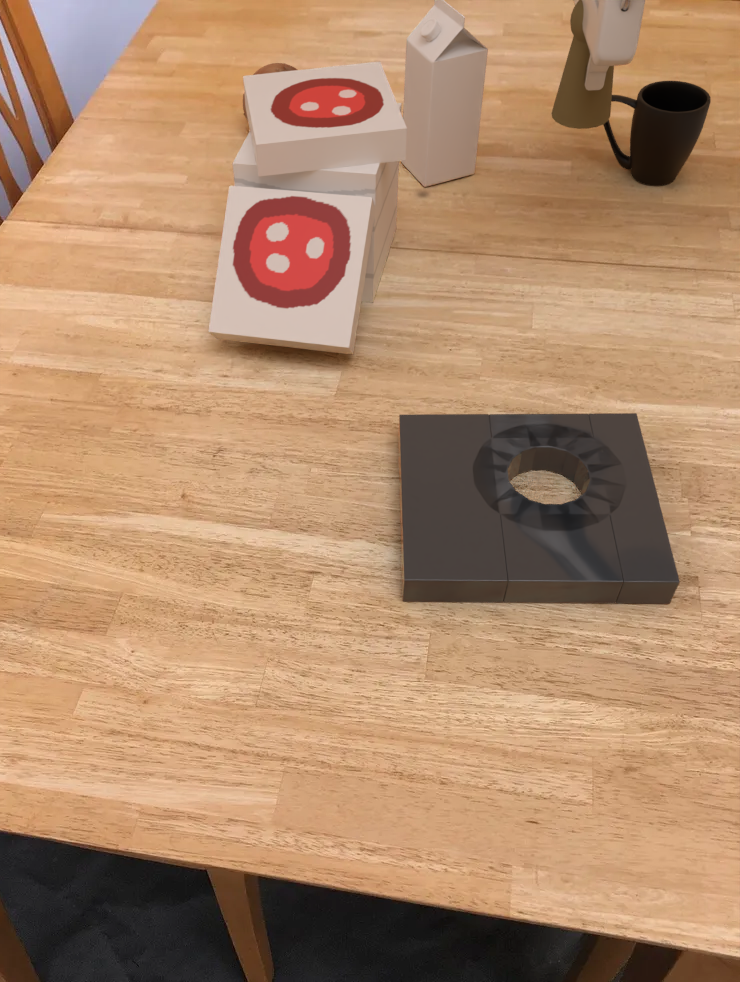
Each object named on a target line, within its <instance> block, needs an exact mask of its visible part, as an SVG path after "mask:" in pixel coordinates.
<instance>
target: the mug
mask: <svg viewBox="0 0 740 982" xmlns="http://www.w3.org/2000/svg"><path fill="white" fill-rule="evenodd" d="M711 101H712V99H711V95H710V93H709V92H708V91H707V90H706V89H704V88H703V87H701V86H699V85H696V84H694V83H690V82H687V81H680V80H659V81H654V82H651V83H648V84H646V85H644V86H643V87H642V88H641V89H640V90H639V91H638V93H637V96H636V99H635V98H632V97H628V96H625V95H622V94H621V95H619V94H612V100H611V103H612V102H615V103H621V104H624V105H627V106H628V107H631V108H633V113H632V117H631V125H630V132H629V133H630V134H629V135H630V136H629V155H628V154H626V153H624V152H623V150H622V149H621V148H620V146H619V144H618V142H617V140H616V137H615V135H614V132H613V129H612V126H611V123H610V119H609V120H608V121H607V122H606V123H605V124H603V125H602V126H603V128H604V131H605V134H606V136H607V137H606V138H607V139H608V143H609V145H610V148H611V150H612V152H613V155H614V157H615V160H616V162H617V163H618V164H619V166H620V167H621V168H623V169H624V170H628V171H630V176H631V178H632V179H633V180H634V181H636V182H638V183H639V184H642V185H645V186H650V187H651V186H653V187H662V186H667V185H670V184H671V183H674V182H675V181H676V179H677V177H678V175H679V173H680V172H681V170H682V169H683V167H684V166H685V165H686V162H687V161H688V159H689V158H690V156H691V154H692V152H693V150H694V149H695V146H696V144H697V142H698V140H699V138H700V136H701V133H702V132H703V131H702V130H703V128H704V126H705V122H706V119H707V116H708V112H709V109H710V107H711Z"/></svg>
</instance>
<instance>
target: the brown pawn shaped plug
mask: <svg viewBox="0 0 740 982" xmlns="http://www.w3.org/2000/svg"><path fill="white" fill-rule="evenodd" d="M621 10H622V9H621ZM583 13H584V8H583V2H582V0H579V1H578V2H577V4H576V5H575V4H574V7H573V8H572V11H571V14H570V20H569V21H570V22H569V23H570V31H571V33H572V35H573V37H572V40H571V42H570V43H571V44H570V47H569V51H568V54H567V58H566V61H565V64H564V68H563V71H562V74H561V78H560V82H559V86H558V89H557V93H556V94H555V95H556V96H555V99H554V102H553V106H552V110H551V114H550V115H551V118H552V119H553V121H554V122H555V123H557V124H559V125H560V126H563V127H566V128H570V129H577V130H586V129H594V128H598V127H600V126H603V124H605V123H606V122H607V121H608V120H609V121H610V118H611V115H612V114H611V112H612V102H611V100H612V95H613V86H614V73H615V72H614V70H615V66H609V68H608V70H607V72H606V77H605V82H604V86H603V88H602V89H600V90H587V89H586V88H585V84H584V76H585V68H586V65H588V62H589V58H590V51H589V48H588V45H587V42H586V38H585V35H584V32H583V24H582V23H583Z"/></svg>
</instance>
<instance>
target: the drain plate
mask: <svg viewBox="0 0 740 982" xmlns="http://www.w3.org/2000/svg"><path fill="white" fill-rule="evenodd" d="M397 429H398V432H397V435H398V436H397V446H398V447H397V449H398V450H397V451H398V453H397V454H398V485H399V486H398V488H399V489H398V490H399V516H400V517H399V522H400V523H399V525H400V552H401V553H400V557H401V560H400V561H401V593H402V594H401V595H402V597H401V598H402V602H403V603H405V602H408V603H411V602H412V603H513V604H514V603H516V604H517V603H519V604H520V603H521V604H523V603H525V604H529V603H530V604H621V605H622V604H624V605H625V604H628V605H629V604H630V605H631V604H632V605H633V604H634V605H636V604H637V605H670V604H671V602H672V599H673V598H674V597H675V594H676V592H677V589H678V587H679V585H680V583H681V582H680V577H679V573H678V569H677V566H676V562H675V558H674V554H673V550H672V546H671V542H670V538H669V535H668V534H669V533H668V530H667V527H666V523H665V518H664V515H663V511H662V508H661V502H660V499H659V496H658V491H657V488H656V484H655V480H654V476H653V473H652V468H651V465H650V460H649V455H648V452H647V448H646V445H645V441H644V436H643V432H642V429H641V425H640V421H639V417H638V413H635V412H630V413H628V412H626V413H625V412H624V413H623V412H621V413H620V412H619V413H618V412H617V413H615V412H613V413H612V412H611V413H607V412H606V413H605V412H604V413H490V414H489V413H467V414H466V413H446V414H445V413H442V414H439V413H438V414H434V413H432V414H429V413H427V414H425V413H423V414H422V413H421V414H419V413H417V414H416V413H415V414H399V416H398V428H397ZM529 471H547V472H551V473H556V474H559V475H561V476H563V477H564V478H565V479H568V480H569V481H571V482H573V484H574V485H575V486H576V488H577V489H578V490H579V491H580V494H581V495H580V496H578V497H577V498H576V499H573V500H570V501H566V502H564V503H543V502H539V501H536V500H532V499H529V498H528V497H526V496H525V495H523V494H522V493H520V492H518V491H517V489H516V488H515V487H514V486H513V484H512V482H511V480H512V479H514V478H515V477H516V476H518V475H520V474H523V473H527V472H529Z"/></svg>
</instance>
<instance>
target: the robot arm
mask: <svg viewBox="0 0 740 982" xmlns="http://www.w3.org/2000/svg"><path fill="white" fill-rule="evenodd" d="M572 1H573V5H574V6H575V5H576V4H577V2H578V1H579V0H572ZM582 2H583V8H584V13H583V23H582V24H583V32H584V35H585V38H586V42H587V45H588V48H589V51H590V58H589V62H588V65H586V68H585V76H584V84H585V88H586V89H587V90H600V89H602V88H603V86H604V82H605V77H606V72H607V70H608V68H609V66H614V67H616V66H627V65H629V64H631V63H632V61H633V60H634V57H635V55H636V53H637V50H638V45H639V39H640V33H641V28H642V22H643V16H644V11H645V5H646V0H582ZM621 9H622V10H621Z"/></svg>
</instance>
